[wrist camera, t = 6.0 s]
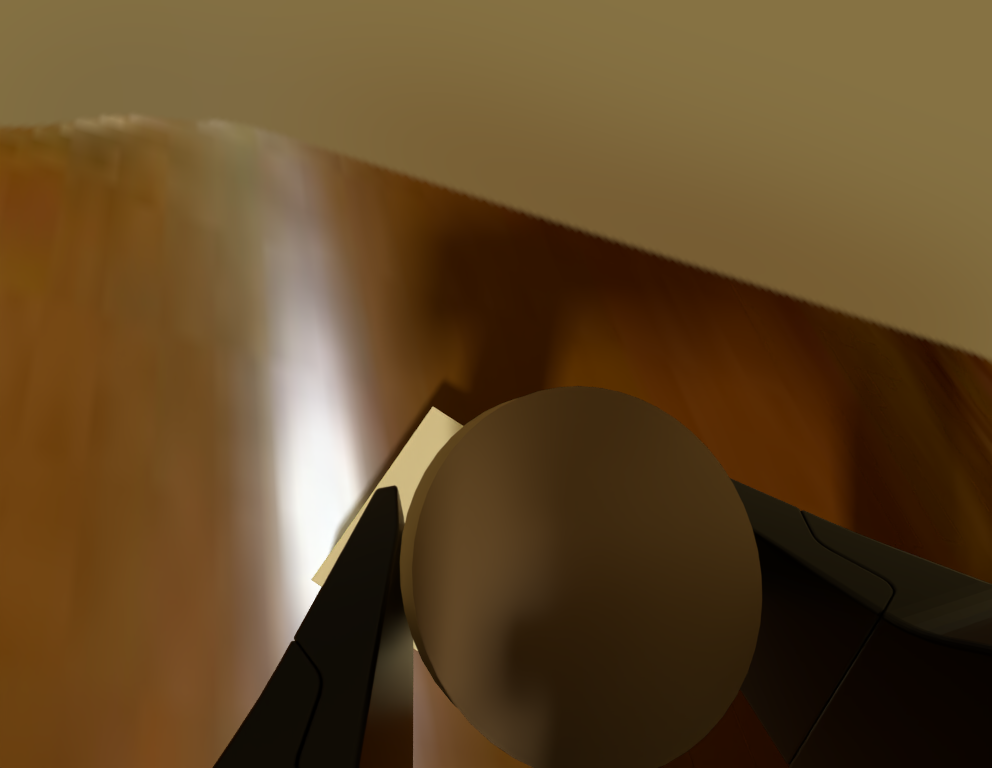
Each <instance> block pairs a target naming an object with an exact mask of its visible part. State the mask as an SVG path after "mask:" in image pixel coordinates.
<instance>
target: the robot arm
mask: <svg viewBox="0 0 992 768" xmlns="http://www.w3.org/2000/svg"><path fill="white" fill-rule="evenodd" d="M730 480H731V481H732V483H733V484H734V486H735V488H736V490H737V492H738V494H739V496H740V499H741V501H742V503H743V505H744V507H745V510H746V512H747V515H748V518H749V521H750V523H751V526H752V529H753V533H754V537H755V541H756V545H757V549H758V554H759V561H760V568H761V577H762V608H761V621H760V628H759V633H758V638H757V643H756V648H755V651H754V654H753V657H752V661H751V664H750V667H749V670H748V673H747V675H746V677H745V679H744V681H743V683H742V685H741V687H740V690H741V691H742V693H743V695H744V696H745V698H746V699H747V701H748V703H749V704H750V706H751V707H752V709H753V710H754V712H755V714H756V715H757V717H758V718H759V720H760V722H761V723H762V725H763V726H764V728H765V730H766V731H767V733H768V734H769V736H770V737H771V739H772V741H773V742H774V744H775V745H776V747H777V749H778V750H779V752H780V753H781V755H782V757H783V758H784V760H785V761H786V763H787V764H790V765H789V768H992V584H990V583H988V582H985V581H982V580H979V579H976V578H974V577H971V576H968V575H966V574H963V573H960V572H958V571H955V570H952V569H950V568H947V567H944V566H942V565H939V564H936V563H934V562H931V561H928V560H926V559H923V558H920V557H918V556H915V555H912V554H910V553H907V552H904V551H902V550H899V549H896V548H894V547H891V546H889V545H886V544H883V543H881V542H878V541H876V540H873V539H871V538H868V537H865V536H863V535H860V534H858V533H855V532H853V531H850V530H848V529H846V528H843V527H841V526H839V525H836V524H834V523H831V522H829V521H827V520H824V519H822V518H820V517H817V516H815V515H813V514H811V513H808V512H806V511H804V510H802V511H800V510H799V509H798V508H797V507H794V506H792V505H790V504H788V503H785V502H783V501H781V500H778V499H776V498H774V497H772V496H769V495H767V494H765V493H762V492H760V491H758V490H756V489H753V488H751V487H749V486H746V485H744V484H742V483H740V482H737V481H735V480H733V479H730ZM404 525H405V522H404V516H403V510H402V505H401V500H400V495H399V490H398V487H397V486H395V485H393V486H388V487H383V488H378V489H377V490H376V491H375V492H374V494H373V496H372V498H371V500H370V501H369V503H368V505H367V507H366V508H365V510H364V512H363V514H362V516H361V517H360V519H359V521H358V523H357V525H356V526H355V528H354V530H353V532H352V534H351V535H350V537H349V539H348V541H347V543H346V544H345V546H344V548H343V550H342V552H341V553H340V555H339V557H338V559H337V561H336V562H335V564H334V566H333V568H332V570H331V571H330V573H329V575H328V577H327V579H326V580H325V582H324V584H323V586H322V588H321V589H320V591H319V593H318V595H317V597H316V598H315V600H314V602H313V604H312V606H311V607H310V609H309V611H308V613H307V615H306V616H305V618H304V620H303V622H302V623H301V625H300V627H299V629H298V631H297V632H296V634H295V636H294V640H295V641H292V642H291V643H290V645H289V646H288V648H287V650H286V652H285V654H284V655H283V657H282V659H281V661H280V663H279V664H278V666H277V668H276V670H275V671H274V673H273V675H272V676H271V678H270V680H269V681H268V683H267V685H266V687H265V688H264V690H263V692H262V693H261V695H260V697H259V698H258V700H257V701H256V703H255V705H254V706H253V708H252V709H251V711H250V712H249V714H248V715H247V717H246V718H245V720H244V721H243V723H242V724H241V726H240V728H239V729H238V731H237V732H236V734H235V735H234V737H233V738H232V740H231V741H230V743H229V744H228V746H227V747H226V749H225V750H224V752H223V753H222V755H221V756H220V757H219V759H218V760H217V762H216V763H215V765H214V766H213V768H413V638H412V636H411V632H410V629H409V625H408V622H407V618H406V615H405V611H404V605H403V599H402V592H401V585H400V553H401V542H402V534H403V530H404Z"/></svg>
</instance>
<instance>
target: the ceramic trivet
mask: <svg viewBox="0 0 992 768" xmlns="http://www.w3.org/2000/svg"><path fill="white" fill-rule="evenodd" d="M462 427H463V426H462V425H461V424H459V423H458V422H456V421H455V420H453V419H452V418H450V417H449V416H447V415H445V414H444V413H442V412H441V411H439V410H438V409H436V408H435V407H432V408H431V410H430V411H429V413H428V414H427V415H426V417H425V418H424V420H423V421H422V423H421V424H420V425H419V427H418V428H417V430H416V431H415V433H414V434H413V435H412V437H411V438H410V440H409V441H408V443H407V444H406V445H405V447H404V448H403V450H402V451H401V453H400V454H399V455H398V457H397V458H396V460H395V461H394V463H393V464H392V465H391V467H390V468H389V470H388V471H387V473H386V474H385V475H384V477H383V478H382V480H381V481H380V483H379V484H378V485H377V487H376V488H375V490H374V491H373V493H372V494H371V495H370V497H369V498H368V500H367V501H366V503H365V504H364V505H363V507H362V508H361V510H360V511H359V513H358V514H357V515H356V517H355V518H354V520H353V521H352V523H351V524H350V525H349V527H348V528H347V530H346V531H345V533H344V534H343V535H342V537H341V538H340V540H339V541H338V543H337V544H336V545H335V547H334V548H333V550H332V551H331V553H330V554H329V555H328V557H327V558H326V560H325V561H324V563H323V564H322V565H321V567H320V568H319V570H318V571H317V573H316V574H315V575H314V577H313V578H312V581H314V582H315V583H317V584H318V585H320V586H321V587H322V586H323V584H324V582H325V580H326V579H327V577H328V575H329V573H330V571H331V570H332V568H333V566H334V564H335V562H336V561H337V559H338V557H339V555H340V553H341V552H342V550H343V548H344V546H345V544H346V543H347V541H348V539H349V537H350V535H351V534H352V532H353V530H354V528H355V526H356V525H357V523H358V521H359V519H360V517H361V516H362V514H363V512H364V510H365V508H366V507H367V505H368V503H369V501H370V500H371V498H372V496H373V494H374V492H375V491H376V490H377V489H378V488H383V487H388V486H393V485H395V486H397V487H398V490H399V495H400V500H401V505H402V510H403V516H404V522H405V521H406V516H407V512H408V509H409V507H410V504H411V501H412V498H413V495H414V493H415V490H416V488H417V486H418V484H419V482H420V480H421V478H422V476H423V474H424V472H425V470H426V469H427V468H428V466H429V465H430V463H431V462H432V460H433V459H434V457H435V456H436V454H437V453H438V452H439V450H440V449H441V448H442V447H443V446H444V445H445V444H446V443H447V441H448V440H449V439H450V438H451V437H452V436H453V435H454V434H455V433H456V432H458V431H459V430H460V429H461V428H462ZM413 648H414V649H416V650H417V647H416V645H415V643H414V640H413ZM417 651H418V650H417Z"/></svg>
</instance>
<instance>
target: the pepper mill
mask: <svg viewBox="0 0 992 768" xmlns="http://www.w3.org/2000/svg"><path fill="white" fill-rule="evenodd" d="M400 585H401V592H402V599H403V605H404V611H405V615H406V618H407V622H408V625H409V629H410V632H411V636H412V638H413V640H414V643H415V645H416V647H417V650H418V652H419V654H420V656H421V659H422V661H423V662H424V664H425V666H426V667H427V669H428V671H429V672H430V674H431V676H432V677H433V679H434V681H435V682H436V684H437V685H438V686H439V687H440V689H441V690H442V691H443V692H444V694H445V695H446V696H447V697H448V698H449V700H450V701H451V702H452V703H453V704H454V705H455V706H456V707H457V708H458V709H459V710H460V711H461V712H462V714H463V715H464V716H465V717H466V719H467V720H468V721H469V722H470V723H471V724H472V725H473V726H474V727H475V728H476V729H477V730H478V731H479V732H480V733H481V734H483V735H484V736H485V737H486V738H487V739H488V740H489V741H490V742H491V743H493V744H494V745H496V746H497V747H499V748H500V749H501V750H503V751H504V752H506V753H507V754H509V755H510V756H512V757H513V758H515V759H517V760H519V761H521V762H523V763H525V764H527V765H529V766H532V767H534V768H658V767H661V766H663V765H666V764H667V763H669V762H671V761H672V760H674V759H676V758H677V757H679V756H681V755H682V754H684V753H686V752H687V751H688V750H689V749H691V748H692V747H693V746H694V745H695V744H697V743H698V742H699V741H700V740H701V739H703V738H704V737H705V736H706V735H707V734H708V733H709V732H710V730H711V729H712V728H713V727H714V726H715V725H716V724H717V723H718V721H719V720H720V719H721V718H722V717H723V715H724V714H725V712H726V711H727V709H728V708H729V706H730V705H731V703H732V702H733V700H734V699H735V697H736V696H737V694H738V692H739V689H740V687H741V685H742V683H743V681H744V679H745V677H746V675H747V673H748V670H749V667H750V664H751V661H752V657H753V654H754V651H755V648H756V643H757V638H758V633H759V628H760V621H761V608H762V577H761V568H760V561H759V554H758V549H757V545H756V541H755V537H754V533H753V529H752V526H751V523H750V521H749V518H748V515H747V512H746V510H745V507H744V505H743V503H742V501H741V499H740V496H739V494H738V492H737V490H736V488H735V486H734V484H733V483H732V481H731V480H730V478H729V477H728V475H727V473H726V472H725V470H724V469H723V467H722V466H721V464H720V463H719V462H718V460H717V459H716V458H715V457H714V455H713V454H712V453H711V452H710V450H709V449H708V448H707V447H706V446H705V445H704V444H703V443H702V442H701V441H700V440H699V439H698V438H697V437H696V436H695V435H694V434H693V433H692V432H691V431H690V430H689V429H687V428H686V427H685V426H684V425H682V424H681V423H680V422H679V421H677V420H676V419H675V418H673V417H672V416H670V415H669V414H667V413H665V412H664V411H662V410H661V409H659V408H658V407H655V406H653V405H651V404H649V403H647V402H645V401H643V400H641V399H639V398H636V397H633V396H630V395H627V394H624V393H621V392H618V391H613V390H608V389H603V388H596V387H583V386H574V387H558V388H553V389H547V390H542V391H538V392H535V393H532V394H529V395H526V396H523V397H520V398H517V399H514V400H511V401H508V402H504V403H502V404H500V405H497V406H495V407H493V408H491V409H489V410H487V411H485V412H483V413H482V414H480V415H479V416H477V417H476V418H474V419H473V420H471V421H470V422H468V423H467V424H466V425H465V426H463V427H462V428H461V429H460V430H459V431H458V432H456V433H455V434H454V435H453V436H452V437H451V438H450V439H449V440H448V441H447V443H446V444H445V445H444V446H443V447H442V448H441V449H440V450H439V452H438V453H437V454H436V456H435V457H434V459H433V460H432V462H431V463H430V465H429V466H428V468H427V469H426V470H425V472H424V474H423V476H422V478H421V480H420V482H419V484H418V486H417V488H416V490H415V493H414V495H413V498H412V501H411V504H410V507H409V509H408V512H407V516H406V521H405V525H404V530H403V534H402V542H401V553H400Z"/></svg>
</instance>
